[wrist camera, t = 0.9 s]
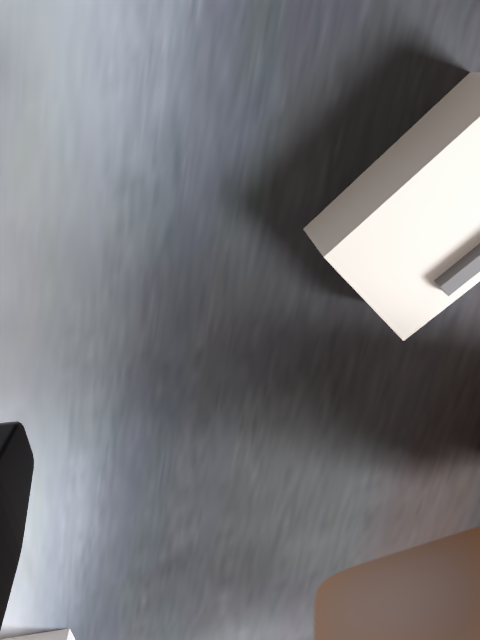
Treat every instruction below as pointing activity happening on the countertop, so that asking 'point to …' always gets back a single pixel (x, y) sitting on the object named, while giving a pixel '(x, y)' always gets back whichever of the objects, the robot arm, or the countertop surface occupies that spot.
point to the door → (413, 217)
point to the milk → (47, 636)
